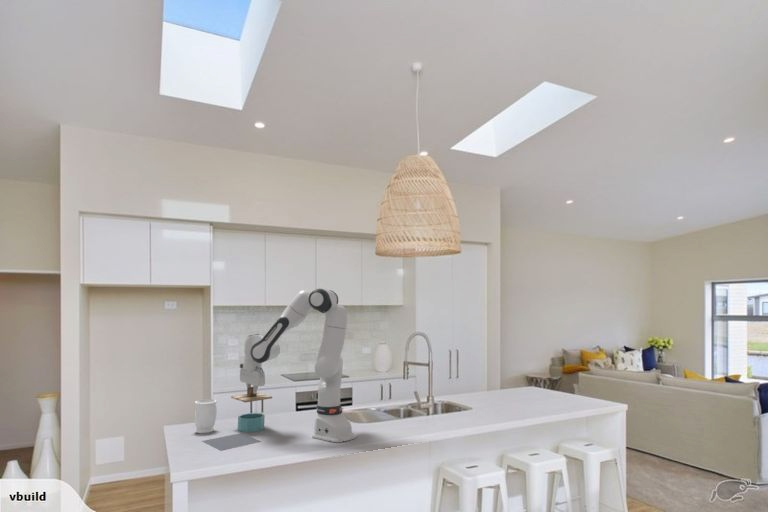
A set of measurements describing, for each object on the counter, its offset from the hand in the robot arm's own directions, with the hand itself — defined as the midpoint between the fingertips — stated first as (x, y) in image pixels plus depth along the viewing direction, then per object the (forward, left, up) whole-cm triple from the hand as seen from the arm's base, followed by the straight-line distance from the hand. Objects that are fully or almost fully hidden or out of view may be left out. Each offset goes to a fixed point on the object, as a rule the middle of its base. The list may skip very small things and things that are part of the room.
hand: (252, 392), depth 248 cm
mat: (-15, +18, -18) cm, 30 cm away
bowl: (0, 0, -18) cm, 18 cm away
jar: (+12, +19, -18) cm, 29 cm away
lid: (0, 0, -3) cm, 3 cm away
